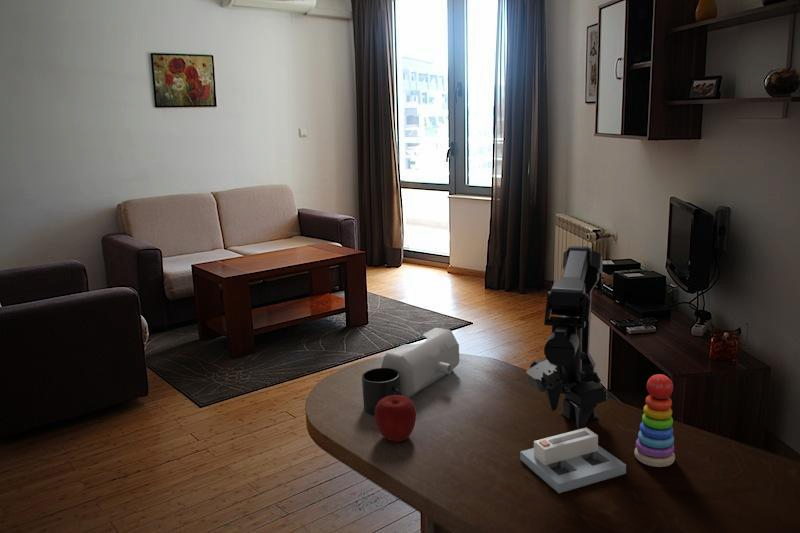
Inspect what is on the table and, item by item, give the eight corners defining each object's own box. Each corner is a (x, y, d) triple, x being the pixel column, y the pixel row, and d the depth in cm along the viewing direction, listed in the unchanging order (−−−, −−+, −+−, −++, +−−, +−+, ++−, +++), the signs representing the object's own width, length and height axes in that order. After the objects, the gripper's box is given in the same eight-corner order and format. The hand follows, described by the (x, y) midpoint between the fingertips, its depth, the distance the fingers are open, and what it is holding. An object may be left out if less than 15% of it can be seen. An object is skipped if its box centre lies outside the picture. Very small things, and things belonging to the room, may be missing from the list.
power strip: (585, 449, 146) (586, 426, 145) (597, 457, 142) (598, 434, 141) (533, 463, 141) (533, 439, 140) (544, 472, 138) (544, 448, 136)
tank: (423, 409, 170) (421, 362, 167) (373, 395, 179) (370, 350, 176) (474, 374, 189) (473, 332, 186) (426, 364, 199) (425, 323, 196)
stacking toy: (655, 472, 136) (659, 386, 132) (626, 455, 143) (628, 373, 139) (683, 461, 140) (688, 377, 135) (652, 445, 147) (656, 364, 142)
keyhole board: (583, 443, 149) (583, 434, 149) (625, 473, 137) (626, 464, 136) (520, 460, 144) (520, 451, 143) (558, 493, 131) (558, 484, 130)
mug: (388, 423, 163) (386, 388, 161) (356, 409, 172) (354, 375, 169) (416, 410, 169) (414, 376, 167) (383, 396, 178) (381, 364, 176)
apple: (425, 440, 154) (423, 399, 152) (389, 452, 149) (386, 411, 147) (403, 424, 162) (401, 385, 160) (368, 436, 157) (366, 396, 155)
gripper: (508, 340, 141) (508, 409, 145) (560, 370, 124) (559, 448, 128) (553, 331, 145) (553, 399, 149) (609, 360, 128) (608, 435, 132)
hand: (566, 419), depth 139 cm, fingers open, 9 cm apart
